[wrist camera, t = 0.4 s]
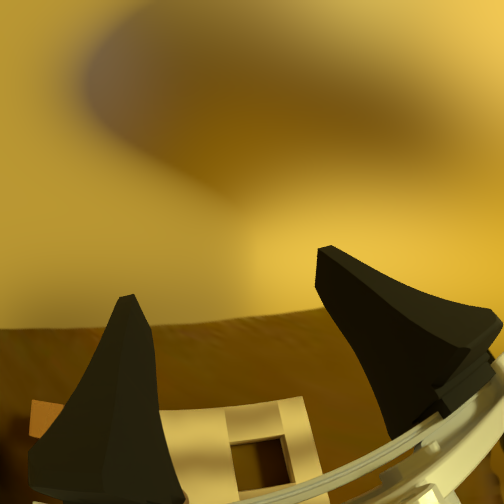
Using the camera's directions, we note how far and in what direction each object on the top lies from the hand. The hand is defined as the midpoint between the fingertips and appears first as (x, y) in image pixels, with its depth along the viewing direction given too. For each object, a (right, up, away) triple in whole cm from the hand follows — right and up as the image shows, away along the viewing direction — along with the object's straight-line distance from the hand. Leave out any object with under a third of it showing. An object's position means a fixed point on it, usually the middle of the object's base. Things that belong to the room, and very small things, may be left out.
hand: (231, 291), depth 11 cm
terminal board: (-2, -19, +10) cm, 21 cm away
